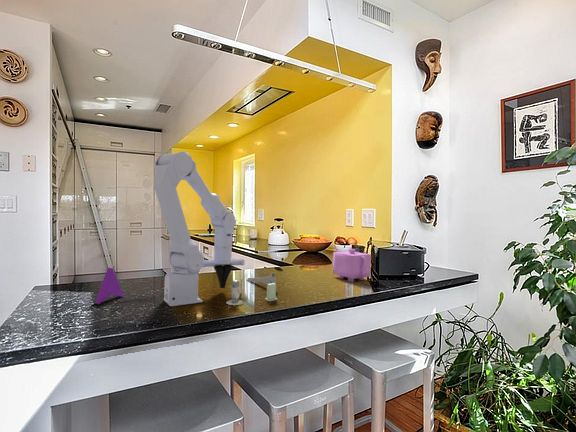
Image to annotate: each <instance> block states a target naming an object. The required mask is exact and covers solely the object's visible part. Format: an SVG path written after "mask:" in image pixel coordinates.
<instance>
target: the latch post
mask: <svg viewBox="0 0 576 432" xmlns="http://www.w3.org/2000/svg"><path fill="white" fill-rule="evenodd" d="M276 293H277V283H276V284H275V283H271V284H266V297H265V298H264V300H265V301H267V302H274V301H277V300H278V298H277V295H276Z"/></svg>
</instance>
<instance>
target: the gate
mask: <svg viewBox="0 0 576 432" xmlns="http://www.w3.org/2000/svg"><path fill="white" fill-rule="evenodd" d="M234 281H238V282H239V292H238V300H240V295H241V293H242V291H243V289H242V282H243V278H235V279H234Z"/></svg>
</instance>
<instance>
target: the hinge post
mask: <svg viewBox="0 0 576 432" xmlns="http://www.w3.org/2000/svg"><path fill="white" fill-rule="evenodd" d="M230 286H231V299H229V300H227V301H226V302H225V303H226V305H227V304H228V305H227V306H230V305H233V307H235V305H239V306H241V305H243V304H244V301H243V300H241V299H239V300H238V292H239V282H238V281H235V280H233V281H231V283H230Z"/></svg>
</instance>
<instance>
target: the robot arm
mask: <svg viewBox="0 0 576 432" xmlns="http://www.w3.org/2000/svg"><path fill="white" fill-rule="evenodd" d="M153 167H154V171H155V173H154V181H153V186H154V187H153V189H154V191H155V194H156V197H157V201H158V204H159V207H160V210H161V213H162V217H163V220H164V223H165V226H166V229H167V233H168V235H169V239H170V242H171V244H170V245H169V246H168V248H167V251H168V264H169V265H170V266H171V267H172V272H169V273H165V276H164V283H163V284H164V286H163V287H164V288H163V289H164V290H163V291H164V293H163V295H164V296H163V297H164V298H163V301H164V302H165V303H166V304H167V305H168V306H169V307H177V306H184V305H185V306H186V305H191V304H198V303H203V300H202V299H201V298H200V297H199V273H201V272H200V271H201V269H202V268H207V267H213V270H214V271H215V274H216V276H217V279H218V284H219V288H220V289H226V284H227V281H228V279H229V275H230V273H231V272H232V269H233V267H232V266H245V262H246V261H245V259H244V258H232V256H233V255H232V251H233V250H232V249H233V244H232V243H233V233H234V230H235V229H234V228H235V226H236V224H237V219H236V217H235V215H234V214H233V212H231V211H228V208H227V207H226V206H225V205H224V203H223V202H222V200H221V199H220V198H221V197H220V196H219V195H218V194H216V193H213V192H211V191H210V190H209V188H208V186H207V184H206V182H205V181H204V179H203V178H202V176H201V175H200V173H199V171H198V170H197V163H196V162H195V161H194V160H193V158H192V156H191V155H190V153H188V152H186V151H179V152H173V153H163V154H160V155H159V156H158V157H157V158H156V159H155V161H154V162H153ZM181 181H185V182H187V183H188V185H189V186H190V187H191V188H192V190H194V192H195V193H196V195H198V197H199V198H200V199H201V200H200V205H201V207H203V210H205V212H206V213H207V214H208V215H209V218H210V224H211V226H213V227H214V241H213V242H214V246H213V249H214V251H213V252H214V255H213V259H208V260H207V259H205V257H204V254H203V253H202V252H201V251H200V249H199V246H198V244H196V242H195V241H194V240H193V239H191V236H190V235H191V234H190V233H189V232H190V231H189V228H188V225H187V222H186V218H185V214H184V211H183V207H182V204H181V200H180V197H179V194H178V191H177V187H178V185H179V183H180V182H181Z"/></svg>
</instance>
